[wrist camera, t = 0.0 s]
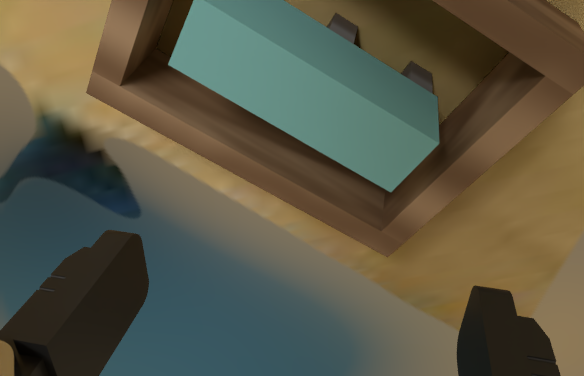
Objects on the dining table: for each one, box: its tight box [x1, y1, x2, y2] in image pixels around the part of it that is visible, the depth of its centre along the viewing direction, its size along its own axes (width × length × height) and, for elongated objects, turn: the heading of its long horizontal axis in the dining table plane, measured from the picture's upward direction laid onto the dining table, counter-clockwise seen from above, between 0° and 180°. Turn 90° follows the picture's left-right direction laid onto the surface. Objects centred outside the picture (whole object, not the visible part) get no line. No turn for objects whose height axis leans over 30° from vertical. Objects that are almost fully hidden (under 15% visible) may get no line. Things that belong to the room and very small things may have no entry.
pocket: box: [86, 0, 584, 257], centre depth 30 cm, size 18×23×5 cm
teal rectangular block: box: [168, 0, 439, 192], centre depth 27 cm, size 4×14×5 cm, turn 61°
